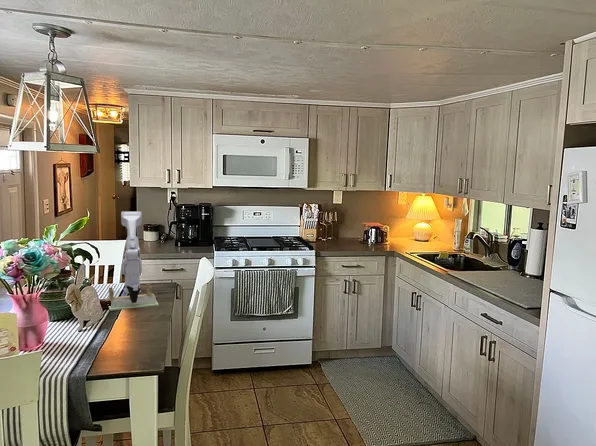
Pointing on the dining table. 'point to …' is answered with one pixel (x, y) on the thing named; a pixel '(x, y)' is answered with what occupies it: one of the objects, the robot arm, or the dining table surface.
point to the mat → (133, 306)
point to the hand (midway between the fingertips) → (133, 301)
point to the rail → (128, 302)
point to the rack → (111, 296)
